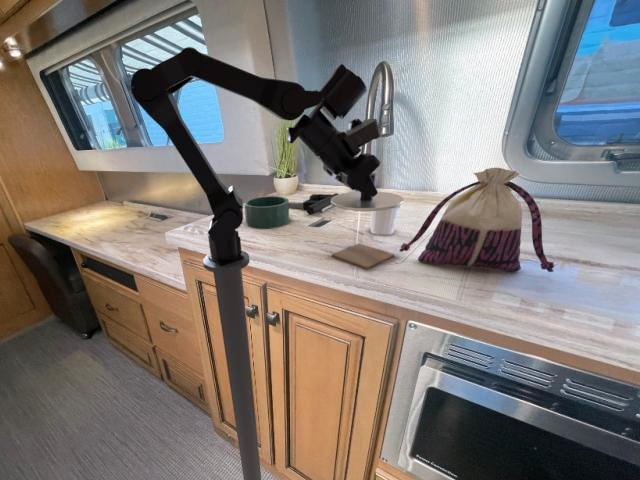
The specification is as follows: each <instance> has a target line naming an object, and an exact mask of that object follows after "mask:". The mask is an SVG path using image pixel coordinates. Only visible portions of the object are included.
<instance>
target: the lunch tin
mask: <svg viewBox="0 0 640 480" xmlns="http://www.w3.org/2000/svg"><path fill="white" fill-rule="evenodd" d="M289 202H290V200H289V198H287V197H284V196H278V195H277V196H276V195H268V196H266V195H265V196H259V197H253V198H250V199H248V200H245V202H244V215H245V223H246V226H247V227H250V228H253V229H275V228H279V227H282V226H284V225H287V224H288V223H289V219H290V208H289Z"/></svg>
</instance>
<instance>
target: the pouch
mask: <svg viewBox="0 0 640 480" xmlns="http://www.w3.org/2000/svg"><path fill="white" fill-rule="evenodd" d="M473 175H474V176H475V177H476V179H477V181H474V182H473V183H470V184H468V185H465V186H462V187H461V188H459V189H457V190H455V191H454V192H452V193H450V194H449V195H448V196H446V197H445V198H444V199H442V200H441V201H440V202H439V203H438V204H437V205H436V206H435V207H434V208H433V209H432V210H431V212H430V214H429V215H428V216H427V217H426V219H425V221H424V222H423V223H422V225H421V226H420V229H419V230H418V232H417V233H416V234H415V235H414V237H413V238H412V239H411V240H410V241H409V242H407V243H406V242H403V243H402V244H401V245H400V249H398V251H399V252H400V253H403V252H404V251H405V252H408V251H409V250H410V249H411V246H412V245H414V244H415V243H416V242H417V241H419V240H420V238H421V237H422V236H423V235H424V234H425V233H426V232H427V230H428V229H429V228H430V226H431V224H432V223H433V221H434V220H435V218H436V217H437V215H438V213H439V212H440V211H441V210H442V208H443V207H444V206H446V204H447V203H448V202H449V201H450V200H451V199H453V198H454V197H455V196H456V197H455V198H454V199H453V200H452V201H451V202H449V204H448V206H447V207H446V209H445V211H444V213H443V214H442V216H441V218H440V220H439V221H438V223H437V225H436V226H435V229H434V230H433V233H432V235H431V236H430V238H429V240H428V242H427V243H426V245H425V249H424V250H422V252H421V253H420V255H419V256H418V257H417V261H418V262H420V263H426V264H438V265H439V264H440V265H447V266H448V265H449V266H458V267H459V266H461V267H468V268H469V267H471V268H480V269H488V270H489V269H490V270H499V271H506V272H518V271H520V270H522V267H521V261H520V260H519V259H520V256H521V248H520V247H521V243H522V241H521V237H522V225H523V224H522V223H523V205H522V202H521V200H520V199H519V197H518V196H517V195H519V196H520V197H521V198H522V200H523V201H524V203H525V204H526V205H527V208H528V210H529V213H530V218H531V239H532V246H533V249H534V252H535V255H536V257H537V259H538V260H539V261H540V268H541V270H546V271H547V272H548V273H553V272H555V271H554V268H555V263H554V261H551V260H549V261H548V259H547V257H546V255H545V252H544V245H543V224H542V217H541V216H542V215H541V212H540V209H539V206H538V204H537V203H536V200H535V199H534V197H532V196H531V194H530V193H529V192H528V191H527V190H525V189H524V188H523V187H522V186H521V185H519V184H516V183H515V182H512V181H511V180H514V179H515V178H517V177H518V176H519V175H521V172H520V171H519V172H518V171H517V170H510V169H506V168H502V167H489V168H485V169H484V170H483V171H477V172H473ZM465 190H466V191H465ZM463 191H464V192H463ZM516 193H517V194H516ZM457 195H458V196H457Z"/></svg>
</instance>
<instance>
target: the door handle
mask: <svg viewBox="0 0 640 480" xmlns="http://www.w3.org/2000/svg"><path fill="white" fill-rule="evenodd" d="M336 195H339V193H336V192H335V193H333V194H332V193H331V194H330V193H326V194H324V193H323V194H322V193H313V194H311V195H309V198H308V199H307V200H305V201H302V202H299V201H298V202H297V201H289V209H302V210H303V211H305V212H306V213H307V214H308V215H310V216H311V215H315V214H317V213H319V212H321V213H323V212H324V211H326V210H327V209H329V208H332V207H334V206H333V205H332V204H331V198H332V197H334V196H336Z"/></svg>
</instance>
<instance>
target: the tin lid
mask: <svg viewBox="0 0 640 480" xmlns="http://www.w3.org/2000/svg"><path fill="white" fill-rule="evenodd" d="M370 176H371V178H372V181H373V183H374V185H375V186H376V181H377V173H375V172H373V173H372V174H371V175H370ZM377 192H378V193H377V195H375V196H374V197H373V196H370V195H368V194H365V193H363V192H360V191H349V192H343V193H340V194H339V193H338V194H339V195H336V196H334V197H332V198H331V204H332V205H333V206H332V207H335V208H338V209H341V210H347V211H353V212H371V211H380V210H387V209H392V208H396V207H399V206H400V207H401V206H402V205H403V204H404V200H405V199H404V198H403V196H401V195H399V194H396V193H392V192H387V191H378V190H377Z"/></svg>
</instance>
